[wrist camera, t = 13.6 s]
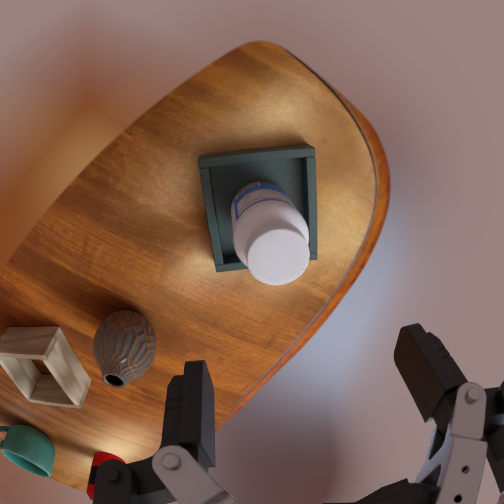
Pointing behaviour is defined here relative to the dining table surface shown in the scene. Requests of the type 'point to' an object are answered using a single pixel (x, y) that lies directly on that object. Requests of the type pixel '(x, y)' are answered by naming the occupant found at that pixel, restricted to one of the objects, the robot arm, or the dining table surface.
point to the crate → (55, 358)
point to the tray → (248, 171)
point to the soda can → (97, 460)
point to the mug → (28, 449)
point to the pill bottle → (269, 233)
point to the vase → (124, 347)
